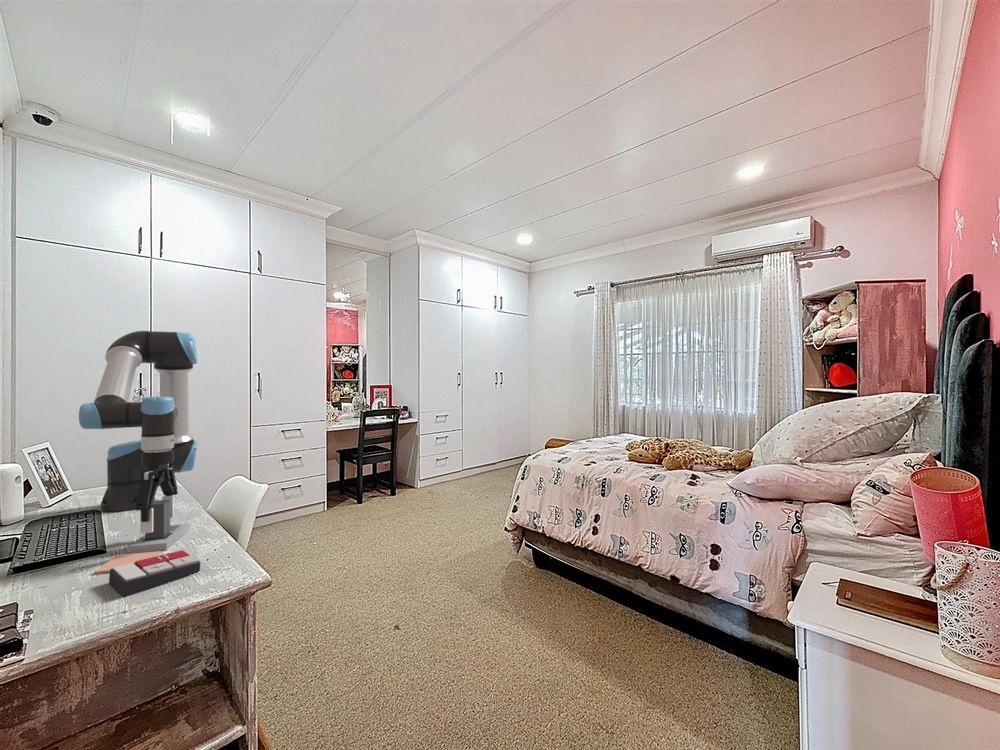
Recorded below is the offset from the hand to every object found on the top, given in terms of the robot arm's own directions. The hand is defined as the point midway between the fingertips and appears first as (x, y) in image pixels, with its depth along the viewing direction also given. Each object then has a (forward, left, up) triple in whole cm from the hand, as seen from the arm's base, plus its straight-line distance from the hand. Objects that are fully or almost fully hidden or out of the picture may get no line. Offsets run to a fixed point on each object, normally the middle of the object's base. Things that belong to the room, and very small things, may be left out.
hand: (157, 524), depth 125 cm
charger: (0, 0, -5) cm, 5 cm away
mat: (+13, -1, -5) cm, 14 cm away
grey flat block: (-2, 0, -5) cm, 6 cm away
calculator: (+24, +9, -6) cm, 26 cm away
